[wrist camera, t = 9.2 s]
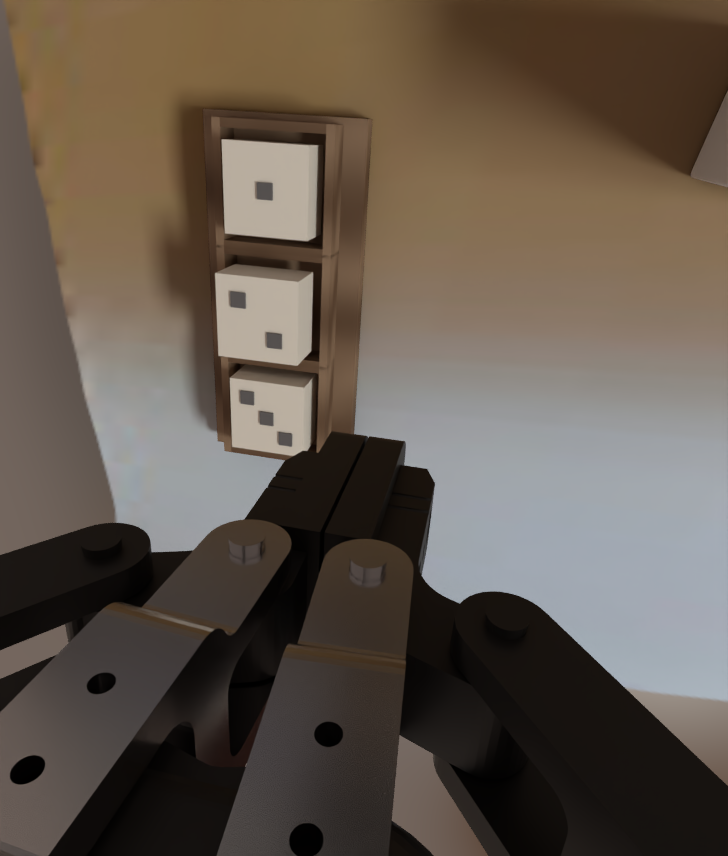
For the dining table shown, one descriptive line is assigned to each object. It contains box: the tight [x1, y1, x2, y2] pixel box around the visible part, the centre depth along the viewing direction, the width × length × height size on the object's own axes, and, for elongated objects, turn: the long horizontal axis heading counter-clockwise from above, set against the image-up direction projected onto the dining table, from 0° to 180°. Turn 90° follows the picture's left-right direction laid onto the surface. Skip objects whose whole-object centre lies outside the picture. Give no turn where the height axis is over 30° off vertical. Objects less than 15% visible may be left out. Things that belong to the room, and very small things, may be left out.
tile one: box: [222, 139, 324, 241], centre depth 36 cm, size 5×5×3 cm
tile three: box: [230, 364, 317, 456], centre depth 42 cm, size 5×5×3 cm
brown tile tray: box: [203, 109, 372, 460], centre depth 41 cm, size 22×10×3 cm, turn 177°
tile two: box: [215, 264, 313, 366], centre depth 38 cm, size 5×5×3 cm
